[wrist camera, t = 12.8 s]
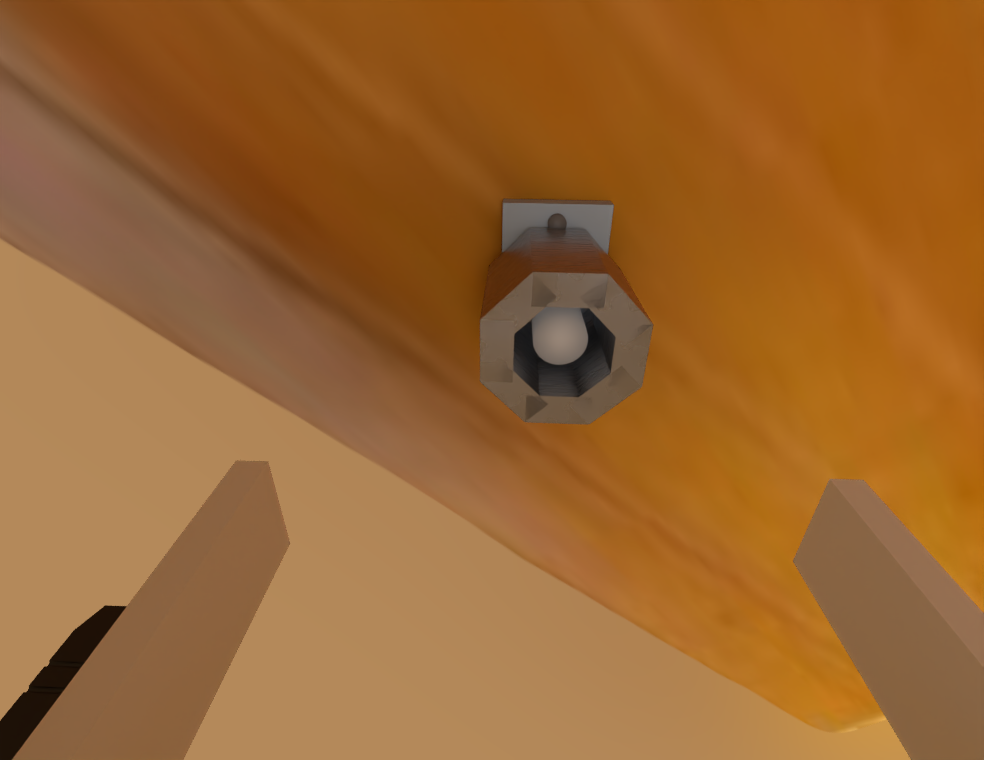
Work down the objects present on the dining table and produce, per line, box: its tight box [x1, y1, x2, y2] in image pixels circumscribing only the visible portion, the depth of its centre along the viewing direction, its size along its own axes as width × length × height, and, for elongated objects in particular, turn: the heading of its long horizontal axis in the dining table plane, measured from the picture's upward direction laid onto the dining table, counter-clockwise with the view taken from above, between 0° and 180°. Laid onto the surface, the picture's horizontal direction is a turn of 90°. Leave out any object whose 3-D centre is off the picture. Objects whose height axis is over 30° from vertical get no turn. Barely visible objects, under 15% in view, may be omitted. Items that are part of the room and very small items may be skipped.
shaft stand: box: [502, 199, 614, 365], centre depth 27 cm, size 6×10×8 cm, turn 179°
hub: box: [480, 228, 653, 424], centre depth 26 cm, size 7×7×8 cm
